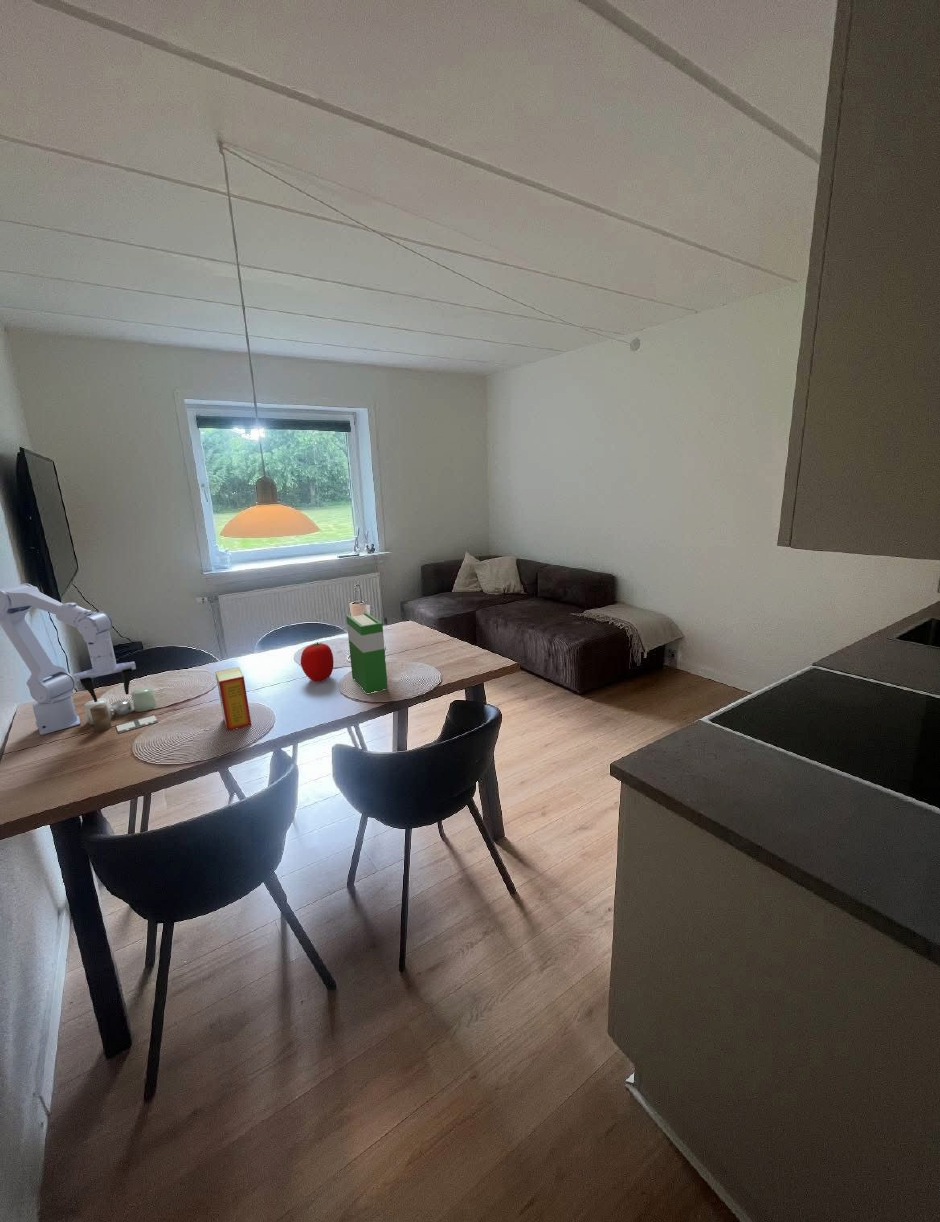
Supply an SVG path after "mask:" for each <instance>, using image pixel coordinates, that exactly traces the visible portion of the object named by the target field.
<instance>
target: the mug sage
mask: <svg viewBox="0 0 940 1222" xmlns="http://www.w3.org/2000/svg"><path fill="white" fill-rule="evenodd" d="M130 694H131V695H130V696H131V700H132V703H133V708H134V711H135V712H137V713H141V712H148V711H150V710H152V709H154V708H155V707H157V702H156V698H155V694H154V688H153V687H150V686H145V687H139V688H137V689H135V690H133V691H131V693H130Z"/></svg>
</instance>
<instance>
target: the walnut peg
mask: <svg viewBox="0 0 940 1222" xmlns="http://www.w3.org/2000/svg"><path fill="white" fill-rule="evenodd" d="M90 711H91V715H92V719H93V723H94V724H93V726H94V731H95V732H96V733H100V732H105V731H108V730H109V729H111V728H112V726H113V725H112V722H111V719H110V717H109V713H108V709H107V705H106V704H101V705H96V706H94V707H92V708H90Z"/></svg>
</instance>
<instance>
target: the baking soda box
mask: <svg viewBox="0 0 940 1222" xmlns="http://www.w3.org/2000/svg"><path fill="white" fill-rule="evenodd" d="M215 677H216V683H217V688H218V689H217V690H218V694H219V696H218V697H219V701H220V707H221V713H222V717H223V721H224V725H225V727H226V730H227V732H230V731H229V730H231V731H234V730H233V729H235V730H237V729H236V728H238V729H242V728H245V726H246V727H249V726H248V725H250V726H252V719H251V713H250V706H249V701H248V695H247V689H246V681H245V677H244V674H243V672H242V670H241V668H240V667H239V666H237V667H233V668H232V667H231V668H227V669H224V670H217V671H215Z"/></svg>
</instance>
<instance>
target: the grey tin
mask: <svg viewBox="0 0 940 1222" xmlns="http://www.w3.org/2000/svg"><path fill="white" fill-rule="evenodd" d="M111 706H112V707H111V708H112V710H113V711H112V712H113V714H114V716H116V717H122V716H126V715H129V714H130V713H132V712H133V708H132V704H131V699H121V700H118V701H115V702H113V703H112V704H111Z"/></svg>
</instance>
